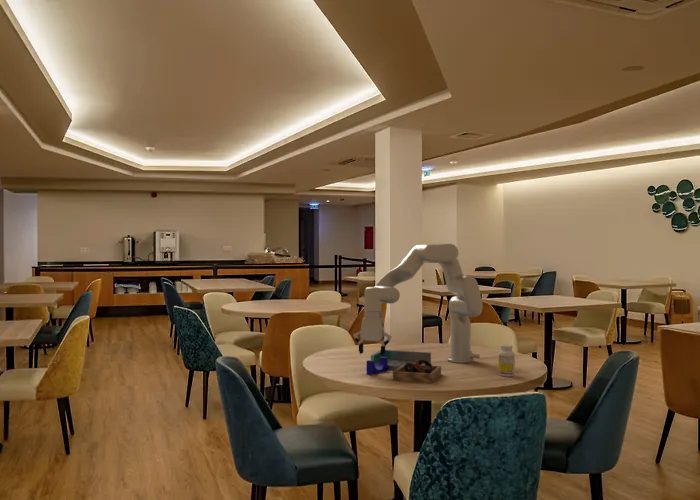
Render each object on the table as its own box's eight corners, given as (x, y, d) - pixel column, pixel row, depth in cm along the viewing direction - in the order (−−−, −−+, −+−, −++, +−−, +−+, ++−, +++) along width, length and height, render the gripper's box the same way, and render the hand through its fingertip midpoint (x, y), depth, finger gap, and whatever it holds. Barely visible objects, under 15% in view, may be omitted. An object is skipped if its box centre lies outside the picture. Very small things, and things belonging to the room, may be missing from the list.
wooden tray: (441, 374, 263) (441, 366, 263) (432, 383, 246) (432, 374, 246) (404, 371, 269) (404, 363, 269) (393, 380, 251) (393, 371, 251)
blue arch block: (378, 369, 273) (378, 356, 273) (387, 371, 271) (387, 357, 271) (363, 374, 264) (363, 360, 264) (372, 375, 261) (372, 361, 261)
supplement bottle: (502, 373, 266) (502, 343, 266) (517, 375, 262) (517, 345, 262) (495, 375, 261) (496, 345, 261) (510, 377, 257) (510, 347, 257)
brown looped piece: (425, 374, 265) (432, 359, 262) (429, 388, 257) (436, 373, 253) (399, 368, 263) (406, 353, 260) (402, 382, 254) (409, 367, 251)
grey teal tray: (431, 365, 283) (431, 352, 283) (423, 372, 267) (423, 358, 267) (381, 362, 291) (381, 349, 291) (370, 368, 275) (370, 355, 275)
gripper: (394, 315, 268) (393, 354, 268) (356, 313, 274) (355, 351, 274) (389, 316, 261) (388, 356, 261) (351, 314, 267) (350, 353, 267)
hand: (371, 354), depth 268 cm, fingers open, 9 cm apart
